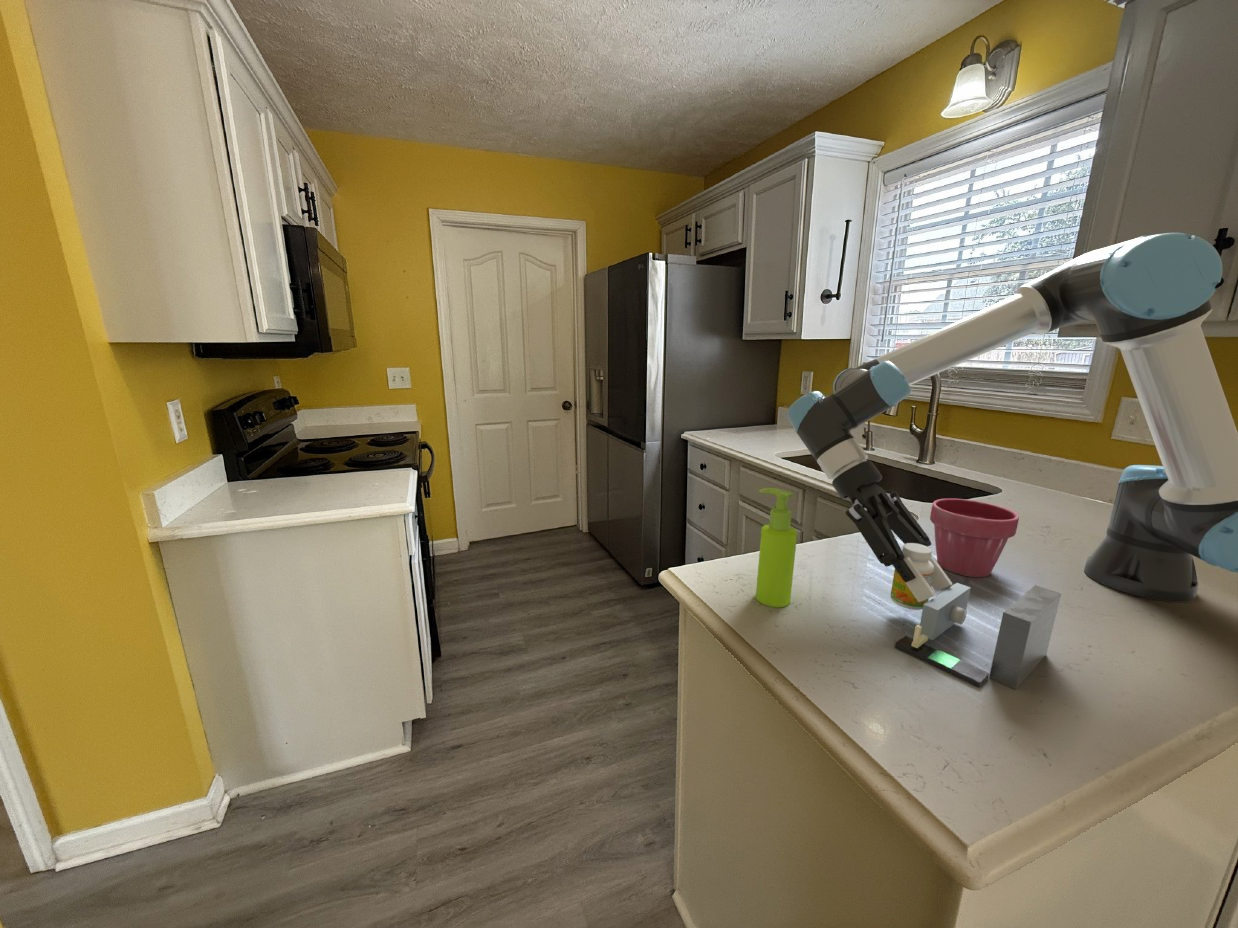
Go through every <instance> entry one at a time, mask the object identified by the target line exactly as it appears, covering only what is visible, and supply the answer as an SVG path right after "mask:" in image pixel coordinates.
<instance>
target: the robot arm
mask: <svg viewBox="0 0 1238 928" xmlns="http://www.w3.org/2000/svg"><path fill="white" fill-rule="evenodd" d="M1223 268H1224V267H1223V262H1222V258H1221V256H1220V253H1219V252H1218V250H1217V249H1216V247H1215V246H1213V245H1212V244H1211V243H1210V242H1209V241H1207V240H1206V239H1204V238H1202V237H1200V236H1197V235H1195V234H1189V233H1185V232H1165V233H1155V234H1154V233H1153V234H1148V235H1142V236H1139V237H1135V238H1134V239H1129V240H1126V241H1123V242H1120V243H1116V244H1112V245H1108V246H1105V247H1101V248H1097V249H1093V250H1091V251H1089V252H1088V251H1087V252H1086V253H1083V254H1082V255H1080V256H1077V257H1075V258H1073V259H1071V260H1069V261H1067V262H1066V263H1064V264H1061V265H1060V266H1058V267H1056V268H1054V269H1053V270H1051V271H1049V272H1047V273H1045V274H1043V275H1041V276H1039V277H1038V278H1035V279H1034V280H1031V281H1029V282H1027V283H1025V284H1023V285H1021V286H1019V287H1018V288H1017V289H1016V290H1015V294H1014V295H1012V296H1010V297H1008V298H1006V299H1003V300H1001V301H999V302H997V303H995V304H993V305H990V306H988V307H986V308H984V309H982V310H980V311H978V312H975V313H973V314H971V315H968V316H966V317H964V318H961V319H959V320H957V321H955V322H952V323H951V324H949V325H946V326H944V327H942V328H940V329H938V330H935V331H934V332H930V333H929V334H927V335H924V336H922V337H920V338H918V339H916V340H913V341H911V342H909V343H907V344H904V345H902V346H899V347H898V348H896V349H893V350H891V351H890V352H887V353H884V354H882V355H880V356H879V357H876V358H874V359H872V360H870V361H867V362H865V363H863V364H861V365H859V366H855V367H850V368H846V369H844V370H843V371H840V373H839V374H837V376H836V377H835V379H834V381H833V385H832V390H833V392H832V393H830V394H828V395H826V396H825V394H823V393H822V392H821V391H818V390H814V391H811V392H808V393H807V394H804V395H802V396H801V397H799V398H798V399H796V400H795V401H793V403H792V404H791V405H789V408H788V410H787V412H786V413H787V414H786V415H787V419H788V422H789V423H790V424H791V426H792V427H793V429H794V431H795V433H796V435H797V436H798V437H799V439H800V440H801V441H802V443H803V444H804V446H805V447H806V448H807V450H808V451H809V453H810V454H811V456H812V457H813V458H814V460H815V462H817V464H818V465H819V466H820V469H821V471H822V472H823V473H824V474H825V477H827V479H828V480H832V481H831V485H832V487H833V488H834V490H835V491H836V493H837V494H838V495H839V497H840V498H841V499H842V500H849V501H850V503H851V505H852V506H851V507H850V508H848V509H847V510H845V515H846V516H847V517H848V518H849V519H850V520H851V521H852V522H853V524H854V525H855V526H856V528H857V530H858V531H859V532H860V534H861V536H862V537H863V538H864V540H865V541H866V543H867V545H868V546H869V548H870V550H871V551H872V552H873V554H874V555H875V557H876V558H877V560H878V562H879V563H880V564H882V565H884V566H885V567H887V568H888V567H890V566H893V568H894V570H895V569H896V570H897V572H898V573H899V575H900V576H901V578H902V579H903V581H904V582H905V583H906V585H907V586H908V588H909V589H910V591H911V592H912V594H913V595H914V596H915V598H916V599H917V601H918V602H921V601H924V600H926V599H929V600H930V598H931V599H932V598H934V597H936V596H937V594H936V593H935V592H938V591H941V590H943V589H947V588H949V587H951V586H952V585H954V584H953V582H952V581H951V579H950V578H949V576H948V575H947V574H946V573H945V571H944V570H943V568H942V567H941V566H940V565H939V564H938V562H937V559H936V558H934V556H933V555H932V554H931V558H930V560H929V561H930V562H931V563H932V564H933V566H934V572H933V578H932V583H931V587H930V586H929V584H928V583H927V581H926V580H925V579H924V577H923V576H922V574H921V573H920V571H919V570H918V569H917V567H916V566H915V564H914V563H913V561H912V560H911V559H910V557H908V558H906V559H904V558H905V556H904V554H903V552H902V550H903V549H902V548H901V546H900V544H899V542H898V541H897V538H896V536H897V537H898V539H899V540H900V541H901V542H902V543H903V545H904V544H906V543H916V544H921V545H924V546H927V547H930V546H932V541H931V539H930V537H929V535H928V534H927V533H926V532H925V530H924V529H923V527H921V525H920V524H919V522H918V521H917V520H916V519H915V517H914V516H913V514H912V513H911V512H910V511H909V508H908V507H906V505H905V503H903V501H902V499H901V497H900V495H899V493H898V492H897V491H896V490H894V491H892V492H891V493H887V491H886V490H885V489H883V488H882V487H881V485H880V484H879V483H880V481H881V480H882V479H883V475H882V474H881V473H880V470H879V469H878V468H877V466H876V465H875V464H874V463H873V461H872V460H871V461H870V460H868V459H869V456H868V454H867V452H865V450H864V449H863V447H862V446H861V445H860V443H859V442H858V441H857V439H856V438H855V437H854V436H853V434H852V431H853V430H855V429H857V428H859V427H860V426H862V425H864V424H865V423H867V422H868V421H870V420H872V419H874V418H876V417H877V416H879V415H880V414H882V413H884V412H886V411H887V410H888V409H891V408H893V407H896V406H897V404H899V403H900V402H902V401H903V400H905V399H906V398H907V397H909V395H910V394H911V391H912V390H911V388H912V387H911V385H913V384H916V383H918V382H920V381H923V380H925V379H927V378H930V377H932V376H934V375H937V374H939V373H942V372H944V371H946V370H949V369H951V368H954V367H956V366H958V365H961V364H963V363H965V362H968V361H971V360H972V359H975V358H977V357H979V356H982V355H983V354H986V353H988V352H991V351H994V350H996V349H998V348H1001V347H1002V346H1005V345H1008V344H1010V343H1013V342H1015V341H1017V340H1020V339H1021V338H1024V337H1027V336H1029V335H1031V334H1036V335H1043V336H1044V335H1045V334H1048V333H1050V332H1052V331H1055V330H1057V329H1061V328H1064V327H1068V326H1071V325H1077V324H1083V323H1091V322H1095V325H1096V327H1097V330H1098V333H1099V336H1100V338H1101V340H1102V342H1103V344H1104V345H1108V346H1112V347H1115V348H1117V349H1119V350H1120V354H1121V356H1122V359H1123V361H1124V364H1125V366H1126V370H1127V372H1128V375H1129V378H1130V380H1131V384H1132V385H1133V389H1134V392H1135V394H1136V396H1137V399H1138V402H1139V405H1140V407H1141V410H1142V413H1143V416H1144V418H1145V420H1146V424H1147V426H1148V429H1149V432H1150V434H1151V437H1152V439H1153V443H1154V446H1155V448H1156V452H1157V453H1158V456H1159V460H1160V462H1161V464H1162V465H1151V464H1149V465H1148V464H1146V465H1145V464H1133V465H1129V466H1127V467H1125V468H1124V469H1123V471H1122V473H1121V476H1120V477H1119V480H1118V482H1117V490H1116V493H1115V497H1114V501H1113V506H1112V509H1111V513H1110V517H1109V521H1108V524H1107V529H1106V533H1105V535H1104V538H1103V539H1102V540H1101V541H1100V542H1099V544H1098V545H1097V546H1096V547H1095V549H1094V550H1093V552H1092V553H1091V555H1090V556H1088V557H1087V559H1086V561H1085V564H1084V569H1083V570H1084V573H1085V574H1086V575H1087V576H1088V577H1089V578H1090V579H1092V580H1094V581H1095V582H1098V583H1099V584H1102V585H1104V586H1106V587H1109V588H1111V589H1114V590H1117V591H1120V592H1123V593H1127V594H1130V595H1134V596H1138V597H1142V598H1147V599H1150V600H1151V599H1152V600H1157V601H1163V602H1170V603H1187V602H1192V601H1194V600H1195V599H1196V596H1197V594H1198V591H1199V582H1198V576H1197V569H1196V565H1195V559H1194V557H1196V558H1197V559H1199V560H1201V561H1203V562H1204V563H1206V564H1209V565H1211V566H1214V567H1218V568H1220V569H1223V570H1226V571H1228V572H1232V573H1237V574H1238V430H1237V426H1236V424H1235V420H1234V419H1233V416H1232V413H1231V410H1230V406H1229V403H1228V401H1227V397H1226V396H1225V393H1224V390H1223V386H1222V384H1221V381H1220V377H1219V376H1218V375H1219V374H1218V372H1217V369H1216V367H1215V363H1214V361H1213V358H1212V355H1211V352H1210V349H1209V346H1208V343H1207V340H1206V337H1205V335H1204V331H1203V329H1202V326H1201V325H1202V323H1203V322H1204V321H1205V320H1206V319H1207V317H1208V316H1209V315H1210V314H1211V313H1212V312H1213V308H1212V304H1211V302H1210V298H1211V297H1212V296H1213V295H1214V293H1216V286H1217V285H1218V284H1219V283H1221V280H1222V277H1223V271H1224V270H1223ZM894 534H895V535H894ZM933 589H934V590H935V591H934V590H933Z"/></svg>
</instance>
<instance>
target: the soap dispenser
mask: <svg viewBox="0 0 1238 928" xmlns="http://www.w3.org/2000/svg"><path fill="white" fill-rule="evenodd" d="M758 492H759V493H760V494H768V495H769V494H770V495H774V496H776V505H775V507H772V508H771V509H770V513H769V515H770V516H769V524H768V523H767V524H765V525H763V526H761V530H760V543H759V552H758V566H757V578H756V589H755V598H756V600H757V601H758V602H759V603H761V604H763V605H764V606H767V607H771V608H784V607H787V606H789V605H790V603H791V598H792V588H793V579H794V578H793V577H794V570H795V569H794V568H795V558H796V548H797V542H798V541H797V539H798V530H796V528H794V527H791V521H792V511H791V510H790V509H789V508H788V499H790V498H793V497H794V496H793V495H794V492H791V491H788V490H785V489H781V488H775V487H763V488H762V489H761V488H760V489H758Z"/></svg>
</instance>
